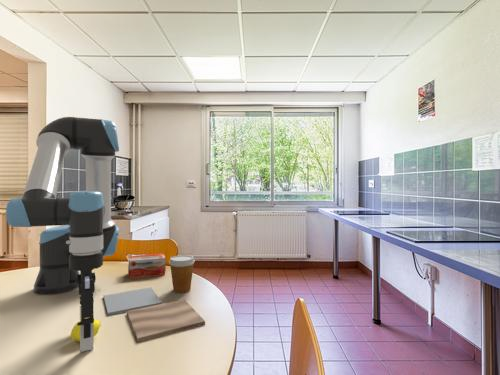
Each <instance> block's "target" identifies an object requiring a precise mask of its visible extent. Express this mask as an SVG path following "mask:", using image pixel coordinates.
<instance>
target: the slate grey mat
mask: <svg viewBox="0 0 500 375" xmlns="http://www.w3.org/2000/svg"><path fill="white" fill-rule="evenodd" d="M103 301H104V304H105V309H106V313H107V316H114V315H117V314H123V313H127V311H130V310H135V309H140V308H145V307H150V306H155V305H159V304H163V301H162V300H161V299H160V298H159V296H158V294H157V293H156V292H155V291H154V289H153V288H152V287H144V288H141V289H134V290H128V291H122V292H115V293H111V294H110V293H109V294H105V295H103Z"/></svg>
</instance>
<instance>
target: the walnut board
mask: <svg viewBox="0 0 500 375" xmlns="http://www.w3.org/2000/svg"><path fill="white" fill-rule="evenodd" d="M126 316H127V319H128V321H129V324H130V326H131V329H132V331H133V333H134V336H135V340H136V342H137V343H140V342H143V341H144V342H145V341H147V340H151V339H155V338H160V337H163V336H167V335H170V334H174V333H179V332H182V331H185V330H191V329H193V328H197V327H200V326H204V325H206V320H205V319H204V318H203V317H202V316H201V315H200V314H199V313H198V312H197V311H196V310H195V309H194V307H192V306H191V305H190V303H189V302H188V301H186V299H180V300H175V301H170V302H169V301H168V302H166V303H165V302H164V303H162V304H159V305H155V306H150V307H145V308H140V309H135V310H130V311H127V312H126Z"/></svg>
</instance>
